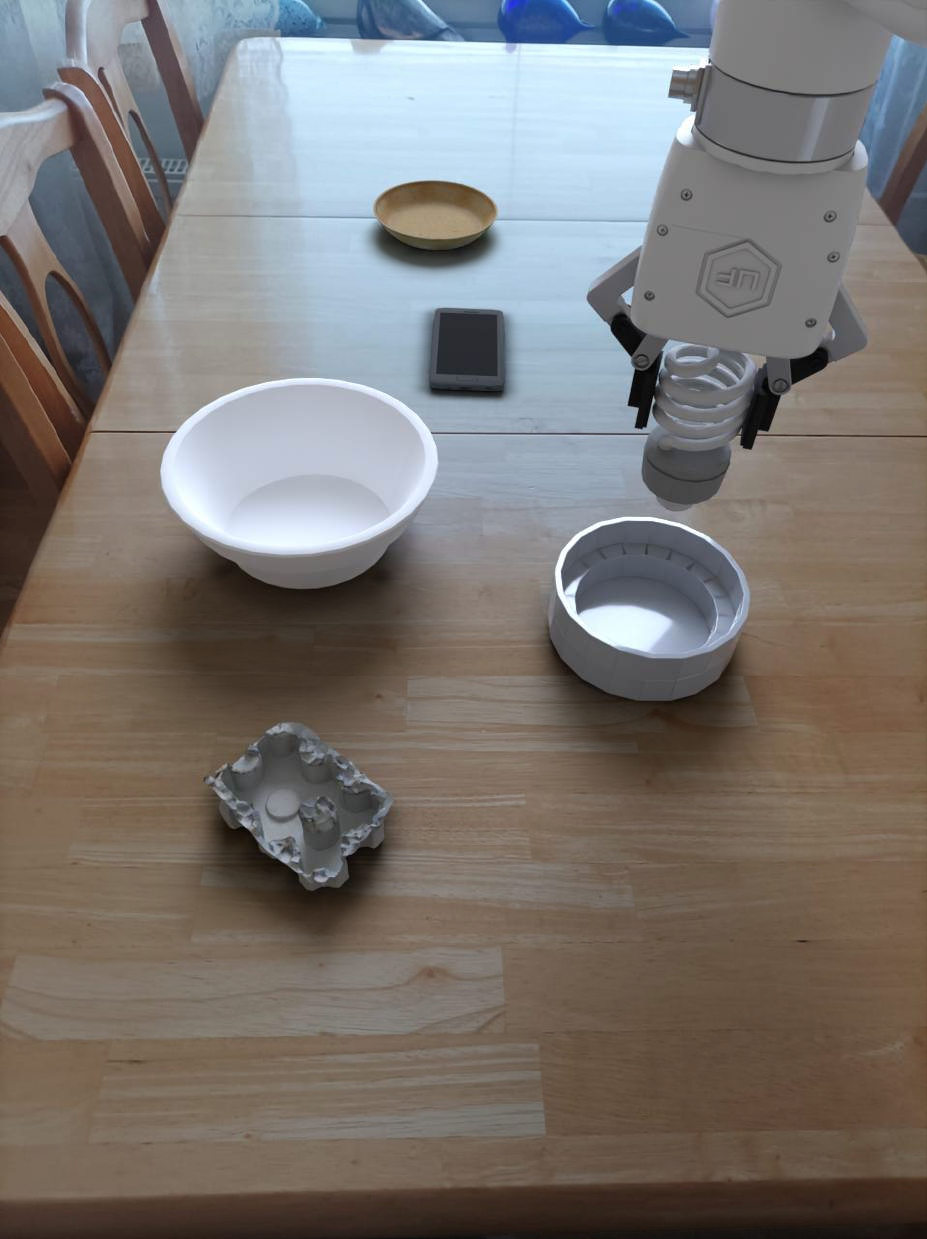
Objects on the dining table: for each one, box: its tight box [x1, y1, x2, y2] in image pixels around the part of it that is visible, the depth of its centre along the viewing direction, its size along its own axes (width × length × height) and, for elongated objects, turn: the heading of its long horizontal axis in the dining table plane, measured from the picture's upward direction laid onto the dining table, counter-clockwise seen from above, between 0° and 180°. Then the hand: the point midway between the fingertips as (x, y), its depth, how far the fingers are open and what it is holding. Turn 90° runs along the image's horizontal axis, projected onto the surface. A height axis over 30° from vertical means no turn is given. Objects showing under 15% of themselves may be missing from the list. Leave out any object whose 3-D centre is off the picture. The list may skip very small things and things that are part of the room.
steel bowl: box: [547, 516, 752, 702], centre depth 70 cm, size 14×14×6 cm
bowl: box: [159, 377, 440, 590], centre depth 74 cm, size 21×21×8 cm
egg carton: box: [202, 721, 395, 892], centre depth 59 cm, size 11×8×4 cm
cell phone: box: [429, 307, 506, 392], centre depth 95 cm, size 7×14×1 cm, turn 179°
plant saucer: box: [372, 179, 499, 251], centre depth 112 cm, size 15×15×3 cm
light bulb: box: [640, 343, 758, 512], centre depth 57 cm, size 6×6×12 cm
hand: (695, 423), depth 57 cm, fingers closed on light bulb, 5 cm apart
